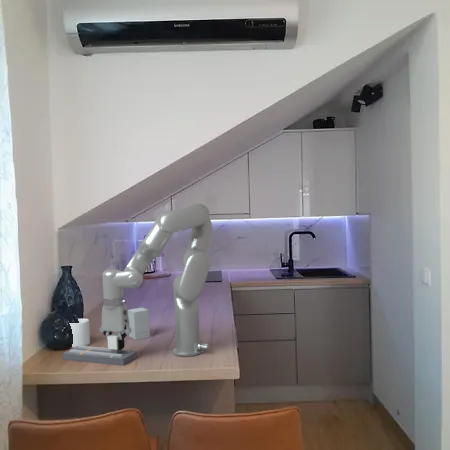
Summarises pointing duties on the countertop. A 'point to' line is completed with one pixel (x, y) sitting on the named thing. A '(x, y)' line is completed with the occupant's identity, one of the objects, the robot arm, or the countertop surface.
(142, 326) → the supplement box
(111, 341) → the cap
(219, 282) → the countertop surface
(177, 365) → the countertop surface
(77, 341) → the mug
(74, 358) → the fader console
